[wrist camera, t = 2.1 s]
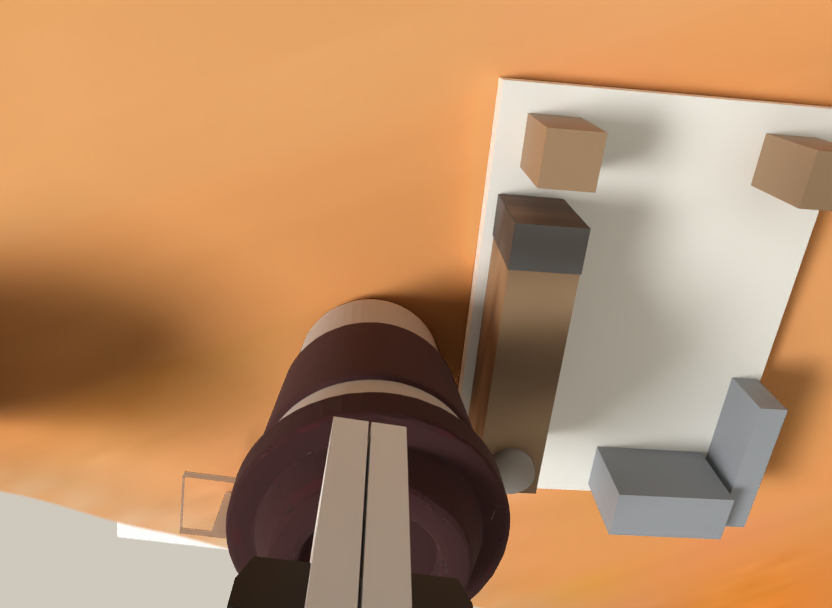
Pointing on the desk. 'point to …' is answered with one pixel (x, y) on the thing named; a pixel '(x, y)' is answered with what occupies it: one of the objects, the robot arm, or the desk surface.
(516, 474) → the leg
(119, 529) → the grey frame
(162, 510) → the desk surface
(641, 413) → the board
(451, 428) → the coffee cup
